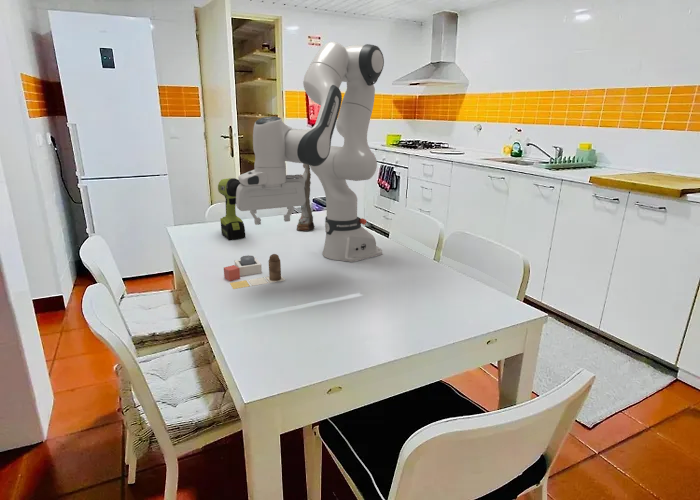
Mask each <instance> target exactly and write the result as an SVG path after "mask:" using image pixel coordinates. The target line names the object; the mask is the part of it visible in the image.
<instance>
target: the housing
mask: <svg viewBox="0 0 700 500" xmlns="http://www.w3.org/2000/svg"><path fill="white" fill-rule="evenodd" d="M254 259H255V264H253V265H246V266H241V260H240V259H237V260H234V261H233V262H234V265H235V266H236V267H238V268H239V271H240V277H245V276H250V275H256V274H262V273H263V271H262V269H263V268H262V263H261V262H260V261H259V260H258V258H256V257H254Z"/></svg>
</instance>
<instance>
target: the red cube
mask: <svg viewBox="0 0 700 500" xmlns="http://www.w3.org/2000/svg"><path fill="white" fill-rule="evenodd" d="M223 278H224V279H226V280H227V281H228V282H233V281H236V280H241V276H240V271H239V268H238V267H236V266H235V264H233V265H228V266H225V267H223Z"/></svg>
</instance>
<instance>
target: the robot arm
mask: <svg viewBox="0 0 700 500" xmlns="http://www.w3.org/2000/svg"><path fill="white" fill-rule="evenodd" d="M384 64H385V59H384V54H383V52H382V50H381V48H380V47H379V46H378V45H374V44H370V43H366V44H352V45H349V46H344V45H343V44H341V43H339V42H336V41H328V42H326V43H324V44H323V45H322V46H321V47H320V48H319V50H318V52H317V53H316V54H315V56H314V57H313V59H312V61H311V62H310V64H309V66H308V67H307V70H306V71H305V74H304V77H303V81H302V82H303V83H302V84H303V88H304V91H305V93H306V95H307V96H308V98H310V100H312V101H313V102H314V103H315V104H318V105H319V106H320V107H319V111H318V114H317V118H316V120H315V124H314V125H313V126H312V127H310V128H308V129H302V128H301V129H298V128H293V127H291V126H288V125H287V123H285V122H283V119H282V118H281V117H280V116H264V117H261V118H258V119H257V120H256V121H255V122H254V124H253V129H252V131H253V132H252V147H253V153H254V158H255V159H254V167H253V168H254V169H252V170H249V171H247V172H245V173H242V174H240V175H238V180H239V182H240V183H241V184H239V185H238V187H237V191H236V206H235V207H236V208H237V209H238V210H239V211H240V212H248V211H249V213H250V215H251V216H252V217H253V219H254V225H256V226H258V225H262V222H261V221H262V219H261V218H260V217H257V215H256V214H257V211H260V210H269V209H271V210H272V209H283V208H286V209H287V212H286V214H283V221H284V222H291V216H292V214H293V212H294V211H295V209H294V208H295V207H301V206H303V205H304V204H305V202H306V198H305V191H304V187H305V179H304V178H303V177H302V176H300V174H287V166H286V164H287V163H286V162H292V163H295V164H297V163H298V164H302V165H303V164H307V165H310V171H312V172H313V173H314V174H315V176H317V178H318V180H319V181H320V184H321V186H322V188H323V191H324V195H325V202H326V203H325V205H326V207H325V209H326V216H325V218H324V220H325V221H324V222H325V223H324V228H325V229H324V230H325V240H324V246H323V250H322V256H323V257H324V258H327V259H329V260H334V261H344V262H350V263H355V262H358V261H362V260H366V259H370V258H373V257H378V256H381V255H383V250H382V249H381V248H380V247H379V246H378V245H377V241H376V238H375V236H374V235H373V234H372V233H371V232H369V231H368V230H367V229H365V227H363V226H364V225H366V224H367V221H368V220H367V219H366V218H363V217H362V218H361V217H359V216H358V197H357V194H356V193H355V192H354V191H353V190H352V189H351V188H350V187H349V185H348V184H347V183H348V182H347V181H353V182H359V181H368V180H370V179H372V178H373V176H374V175H375V173H376V172H377V167H378V161H377V159H376V155H375V154H374V153H373V152H372V150H371V149H370V147H369V144H368V131H369V125H370V121H371V117H372V113H373V109H374V105H375V104H374V103H375V95H376V93H375V92H376V89H375V85H374V84H376V83H377V82H378V80H379V78H380V76H381V74H382V73H383V69H384V66H385V65H384ZM342 83H346V90H345V92H344V96H343V97H342V92H341V89H340V86H341V85H342ZM335 128H336V130H337V133H338V134H339V136H342V138H343V140H344V141H343V145H342V146H333V145H332V138H333V134H334V131H335ZM300 177H301V178H300ZM362 225H363V226H362Z"/></svg>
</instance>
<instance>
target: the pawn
mask: <svg viewBox="0 0 700 500" xmlns="http://www.w3.org/2000/svg"><path fill="white" fill-rule="evenodd" d="M281 266H282V265H281V259H280V257H279V254H276V253H273V254H271V255H270V256H269V259H268V275H269V276H268V277H269V279H270V280H272V281H277V280H280V279H281V276H282V268H281Z"/></svg>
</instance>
